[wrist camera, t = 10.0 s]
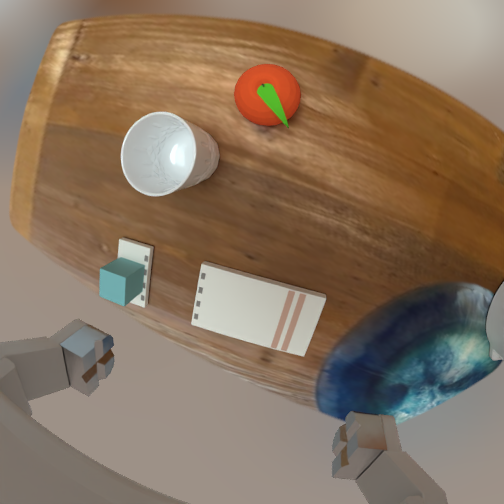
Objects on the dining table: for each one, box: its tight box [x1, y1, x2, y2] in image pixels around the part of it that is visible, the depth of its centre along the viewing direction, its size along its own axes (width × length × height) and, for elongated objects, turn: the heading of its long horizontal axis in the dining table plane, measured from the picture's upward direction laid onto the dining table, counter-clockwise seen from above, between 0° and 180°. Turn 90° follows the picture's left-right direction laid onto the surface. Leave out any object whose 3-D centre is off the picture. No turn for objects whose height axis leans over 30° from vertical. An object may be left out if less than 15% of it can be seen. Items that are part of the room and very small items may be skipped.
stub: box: [100, 237, 154, 308], centre depth 37 cm, size 5×9×6 cm, turn 167°
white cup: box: [121, 112, 220, 196], centre depth 30 cm, size 8×8×10 cm
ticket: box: [191, 261, 326, 356], centre depth 38 cm, size 16×9×1 cm, turn 77°
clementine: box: [234, 64, 301, 128], centre depth 28 cm, size 8×7×7 cm
